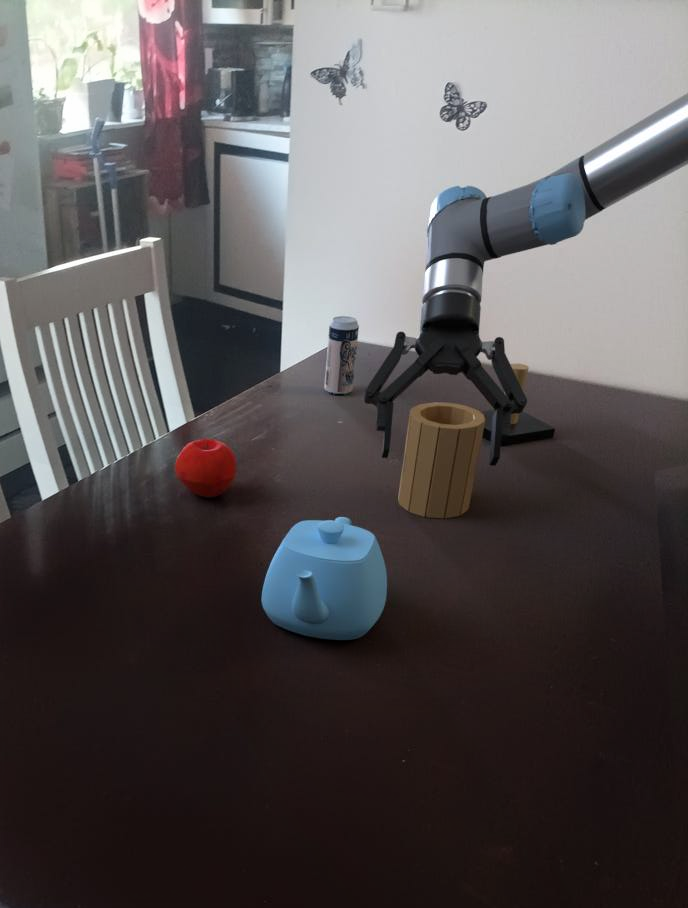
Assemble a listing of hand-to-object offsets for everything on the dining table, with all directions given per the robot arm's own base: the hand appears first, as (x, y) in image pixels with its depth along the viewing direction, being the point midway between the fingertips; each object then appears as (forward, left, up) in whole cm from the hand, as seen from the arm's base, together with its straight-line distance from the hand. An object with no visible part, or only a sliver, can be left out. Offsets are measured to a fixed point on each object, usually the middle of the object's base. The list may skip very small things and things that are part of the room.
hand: (439, 458), depth 114 cm
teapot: (-20, +27, -7) cm, 34 cm away
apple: (+13, +27, -7) cm, 31 cm away
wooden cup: (0, 0, -6) cm, 7 cm away
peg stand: (+18, -25, -6) cm, 32 cm away
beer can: (+43, -9, -7) cm, 45 cm away
